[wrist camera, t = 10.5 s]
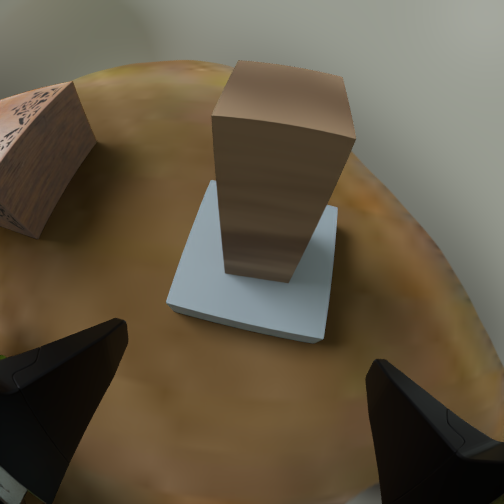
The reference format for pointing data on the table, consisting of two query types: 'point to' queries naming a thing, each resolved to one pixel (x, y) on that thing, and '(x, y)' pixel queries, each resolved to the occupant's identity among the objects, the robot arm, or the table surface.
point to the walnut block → (276, 163)
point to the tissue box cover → (39, 153)
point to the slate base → (254, 282)
